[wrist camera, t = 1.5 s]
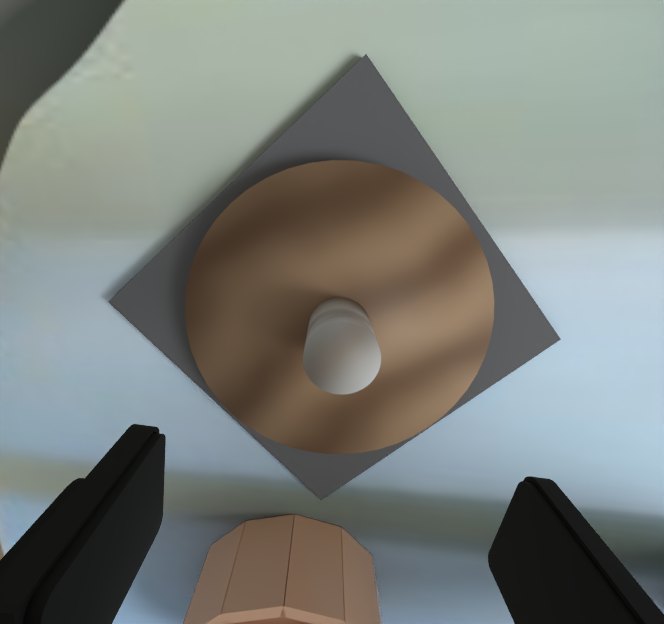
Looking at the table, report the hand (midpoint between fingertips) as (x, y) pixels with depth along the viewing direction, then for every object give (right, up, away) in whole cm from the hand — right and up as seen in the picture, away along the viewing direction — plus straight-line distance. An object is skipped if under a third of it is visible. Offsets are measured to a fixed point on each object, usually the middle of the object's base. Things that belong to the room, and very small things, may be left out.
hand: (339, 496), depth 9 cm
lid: (0, +4, +14) cm, 15 cm away
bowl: (-4, -20, +23) cm, 31 cm away
